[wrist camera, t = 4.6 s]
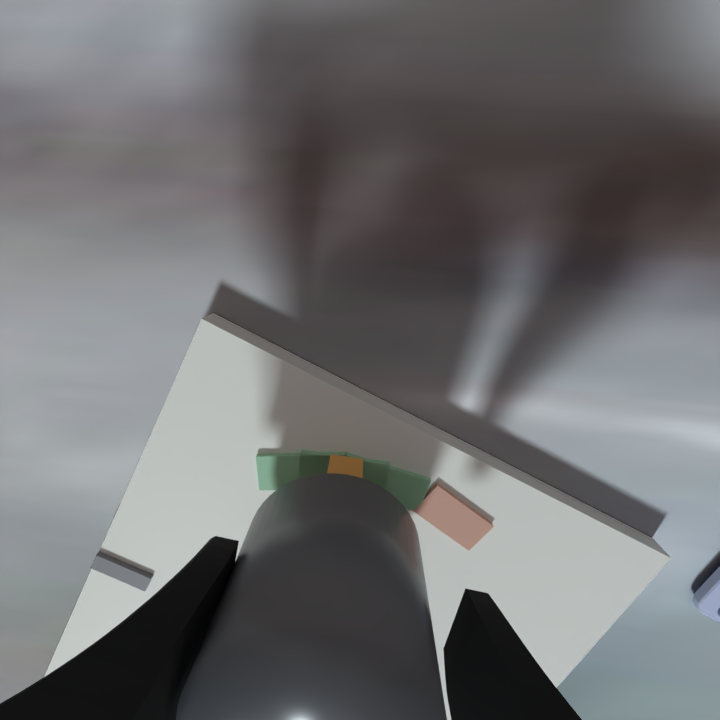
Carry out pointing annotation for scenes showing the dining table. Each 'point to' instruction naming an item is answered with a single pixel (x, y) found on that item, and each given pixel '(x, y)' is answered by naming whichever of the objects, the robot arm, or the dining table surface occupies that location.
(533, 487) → the dial plate
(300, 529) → the dial knob
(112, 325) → the dining table surface
